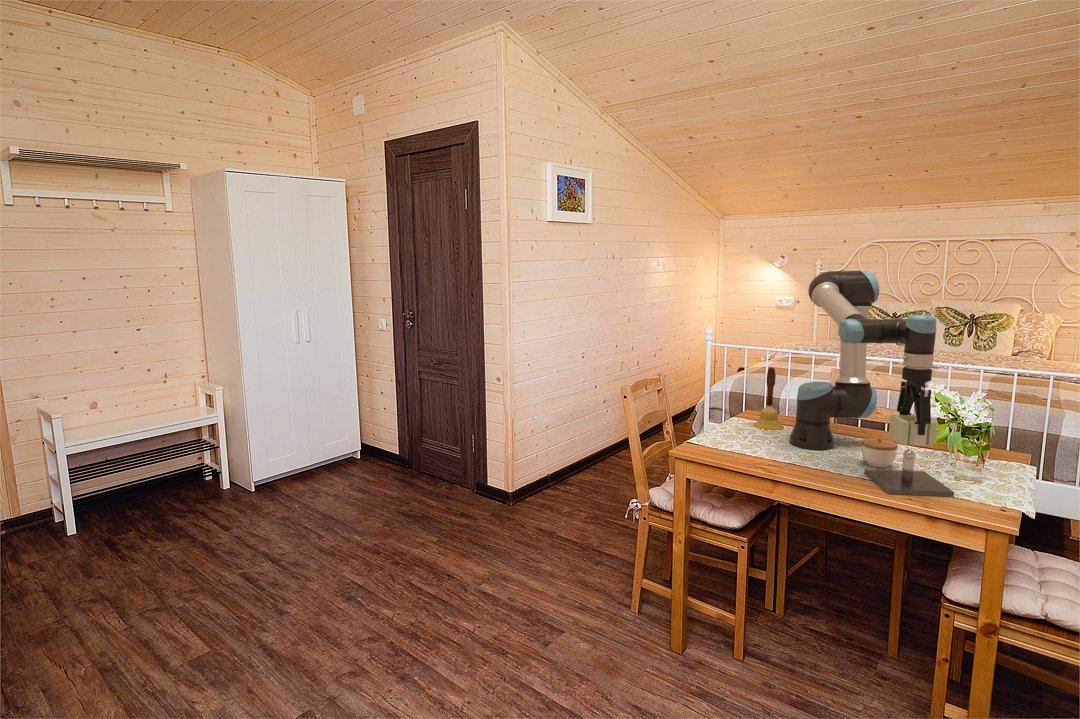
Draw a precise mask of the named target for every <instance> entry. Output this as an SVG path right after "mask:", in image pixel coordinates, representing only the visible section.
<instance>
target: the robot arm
mask: <svg viewBox="0 0 1080 719" xmlns="http://www.w3.org/2000/svg"><path fill="white" fill-rule="evenodd" d="M807 290H808V293H807V294H808V296H809V299H810V301H811V302H812V303H813V304H814V305H815V306H817V307H819V308H821V309H822V310H823V311H824V312H825V313H826V314H827V315H828V316H829V317H830V318H831V319H832V320H833V321H834V323H835V324H837V326H838V336H839V341H840V348H839V349H840V352H839V355H840V356H839V377H838V378H837V379H836V380H835V382H834V383H835V384H834V385H833V383H831V382H829V381H810V382H804V383H803V384H800V385H799V386H798V388H797V395H796V413H795V414H796V416H795V424H794V426H793V428H792V431H791V432H790V435H789V443H790V445H792V446H794V447H797V448H800V447H801V449H805V450H814V451H815V450H816V451H825V450H831V449H833V448H834V445H835V444H834V443H835V442H834V441H835V440H834V437H833V433H832V430H831V427H830V426H831V424H830V423H831V419H832V418H840V419H842V418H843V419H844V418H845V419H847V418H849V419H861V418H862V419H866V418H868V417H870V416H871V415H872V414H873V413H874V411H875V409H876V407H877V404H878V394H877V390H876V389H875V388H874V386H871V381H870V380H869V379H868V378H867V377H866V375H867V344H900V345H904V350H903V352H904V353H903V356H902V359H903V361H902V364H903V368H902V372H901V373H902V374H901V379H902V380H904V381H901V382H900V390H899V391H900V392H899V396H898V402H897V406H896V412H898V415H912V412H911V410H912V407H913V405H914V411H915V416H916V420H917V422H914V424H915V429H914V439H913V445H912V446H920V445H924V440H925V429H926V424H930V423H931V421H932V417H931V416H932V414H931V413H932V412H931V409H932V408H931V406H932V405H931V403H932V402H931V397H932V396H931V395H932V390H931V389H927V386H926V383H927V382H931V381H932V375H933V374H932V373H933V369H932V368H933V366H934V357H935V356H934V355H935V354H934V351H935V345H936V344H935V343H936V334H937V318H936V317H935V316H933V315H926V314H924V315H923V314H910V315H909V316H908V317H907V318H906V319H905V318H891V319H890V318H889V319H887V318H886V319H885V318H884V319H880V318H879V319H878V318H877V319H876V318H875V319H874V318H872V319H870V318H869V319H868V312H869V311H870V310H871V309H872V308H873V304H874V303H876V302H877V301H878V299H879V296H880V284H879V280H878V278H877V276H876V275H875V274H874V273H873V272H871V271H868V270H866V271H863V270H840V271H839V270H838V271H836V270H835V271H834V270H833V271H832V270H828V271H824V272H822V273H819V274H817V276H816V275H815V277H814V278H813V279H812V280H811V282H810V283H809V286H808V289H807Z"/></svg>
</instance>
